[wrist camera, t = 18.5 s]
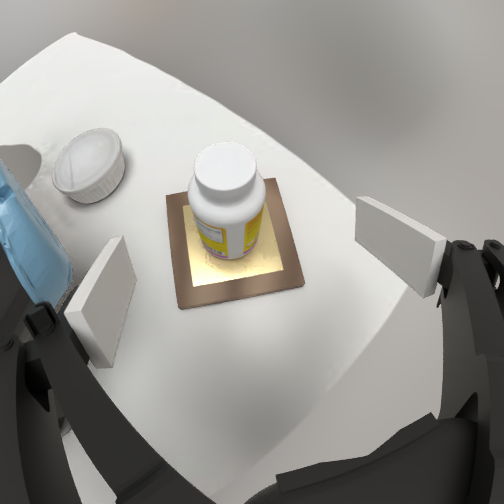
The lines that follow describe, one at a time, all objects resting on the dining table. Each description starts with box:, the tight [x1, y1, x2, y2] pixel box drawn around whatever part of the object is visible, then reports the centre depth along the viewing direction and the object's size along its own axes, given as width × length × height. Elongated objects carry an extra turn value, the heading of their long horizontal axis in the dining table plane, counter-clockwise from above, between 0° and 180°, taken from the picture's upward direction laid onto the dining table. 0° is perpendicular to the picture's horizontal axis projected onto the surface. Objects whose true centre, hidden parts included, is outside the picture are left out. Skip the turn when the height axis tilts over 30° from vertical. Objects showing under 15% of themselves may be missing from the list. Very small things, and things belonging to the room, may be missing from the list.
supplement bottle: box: [188, 142, 266, 259], centre depth 26 cm, size 7×7×13 cm
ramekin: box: [52, 128, 125, 204], centre depth 33 cm, size 11×11×5 cm
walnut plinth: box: [166, 178, 305, 309], centre depth 32 cm, size 14×14×2 cm
